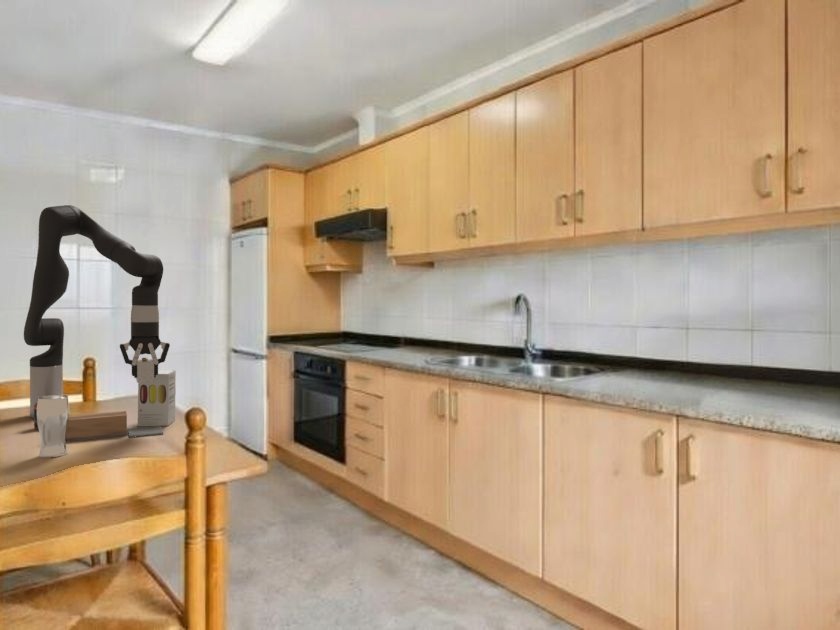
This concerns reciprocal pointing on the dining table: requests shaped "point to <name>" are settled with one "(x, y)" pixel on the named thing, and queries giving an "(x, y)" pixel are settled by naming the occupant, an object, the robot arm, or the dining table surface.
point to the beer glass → (53, 424)
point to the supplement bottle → (35, 415)
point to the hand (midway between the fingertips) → (145, 376)
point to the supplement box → (157, 400)
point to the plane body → (96, 426)
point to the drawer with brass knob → (145, 370)
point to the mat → (145, 431)
